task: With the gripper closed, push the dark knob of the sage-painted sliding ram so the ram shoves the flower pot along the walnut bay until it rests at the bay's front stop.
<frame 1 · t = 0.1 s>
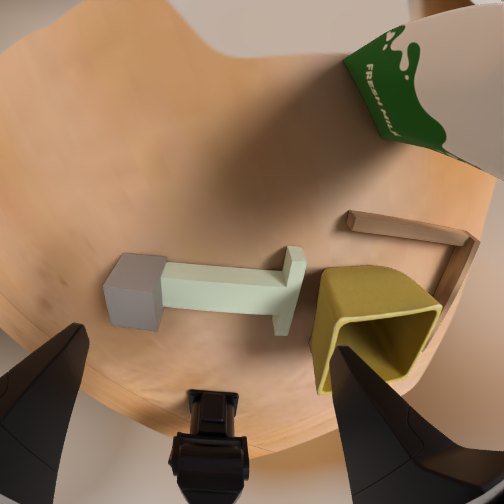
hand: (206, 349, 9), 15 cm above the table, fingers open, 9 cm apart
flower pot: (345, 286, 27), on the table
milk carton: (395, 84, 18), on the table
bay: (388, 289, 27), on the table
ram: (204, 297, 23), point 3 cm above the table, slide at 0.0 cm
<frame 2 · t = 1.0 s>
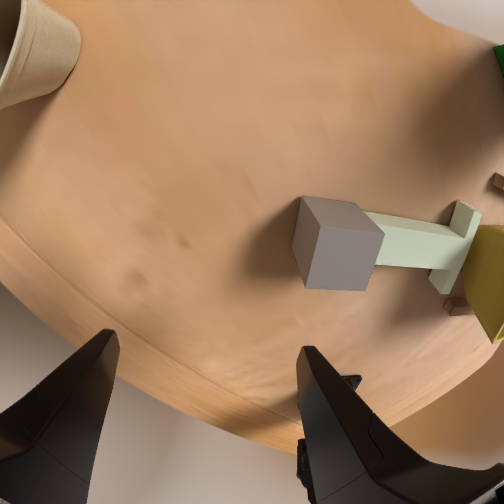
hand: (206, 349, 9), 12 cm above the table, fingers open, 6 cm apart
flower pot: (481, 245, 22), on the table
flower pot 2: (50, 56, 13), on the table
ram: (402, 248, 19), point 3 cm above the table, slide at 0.0 cm
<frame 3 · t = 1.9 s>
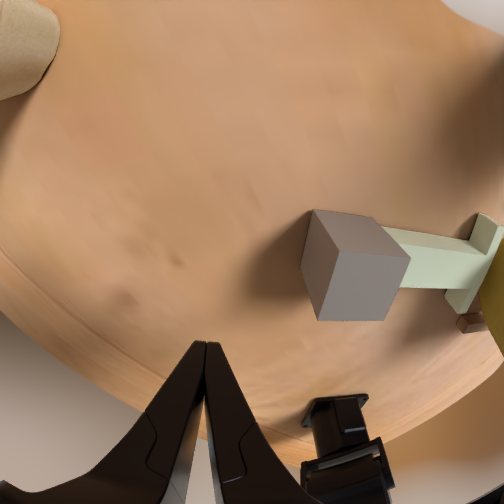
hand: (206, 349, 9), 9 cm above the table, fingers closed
flower pot: (498, 259, 20), on the table
flower pot 2: (27, 50, 10), on the table
ram: (423, 269, 16), point 3 cm above the table, slide at 0.0 cm
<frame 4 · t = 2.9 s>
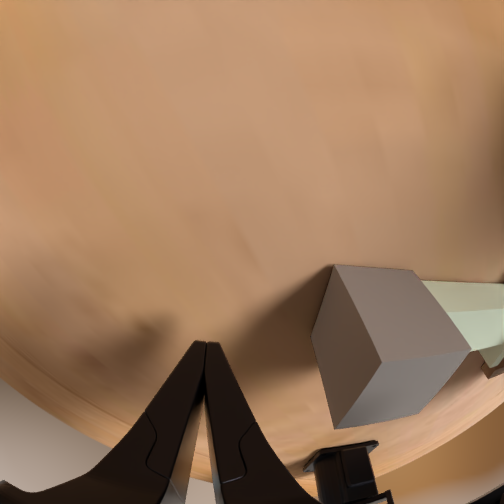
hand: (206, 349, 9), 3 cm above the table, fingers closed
ram: (468, 335, 11), point 3 cm above the table, slide at 0.0 cm
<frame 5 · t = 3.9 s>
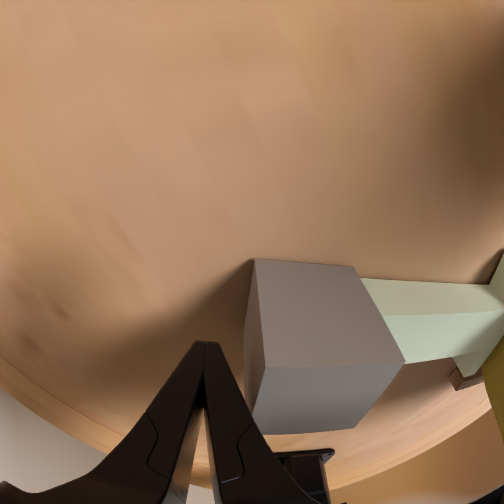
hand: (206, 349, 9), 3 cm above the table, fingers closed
ram: (425, 342, 10), point 3 cm above the table, slide at 1.6 cm, touching flower pot, gripper
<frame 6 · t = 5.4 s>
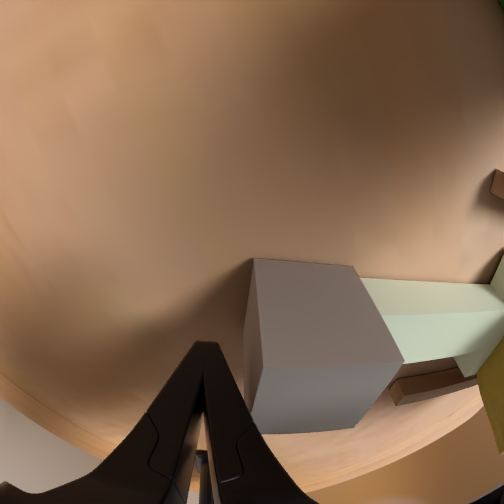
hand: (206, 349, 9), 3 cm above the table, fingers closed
ram: (426, 341, 10), point 3 cm above the table, slide at 8.0 cm, touching flower pot, gripper
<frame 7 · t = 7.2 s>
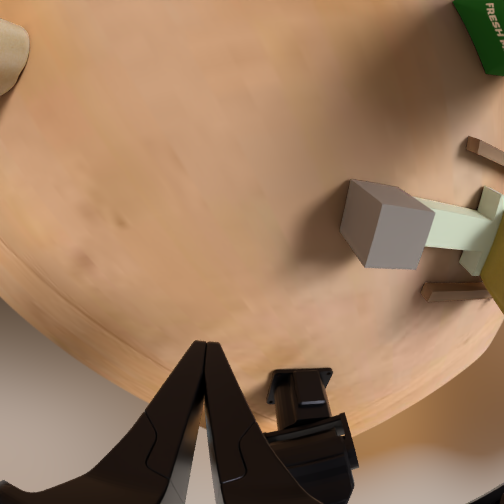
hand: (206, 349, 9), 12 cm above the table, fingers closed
flower pot: (493, 233, 22), on the table
flower pot 2: (7, 59, 12), on the table
milk carton: (487, 32, 12), on the table
bay: (490, 228, 21), on the table
ram: (442, 230, 18), point 3 cm above the table, slide at 8.2 cm
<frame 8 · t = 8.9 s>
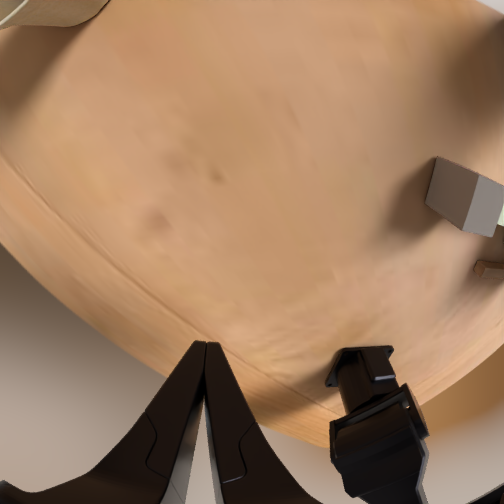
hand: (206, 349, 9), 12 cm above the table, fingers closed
ram: (502, 208, 17), point 3 cm above the table, slide at 8.2 cm
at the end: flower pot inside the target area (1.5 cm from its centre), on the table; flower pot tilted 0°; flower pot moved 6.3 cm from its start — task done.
